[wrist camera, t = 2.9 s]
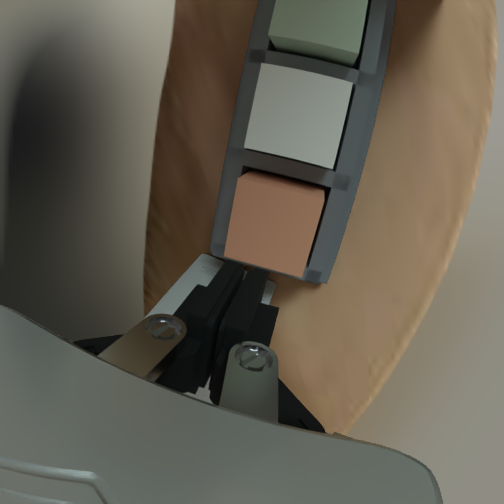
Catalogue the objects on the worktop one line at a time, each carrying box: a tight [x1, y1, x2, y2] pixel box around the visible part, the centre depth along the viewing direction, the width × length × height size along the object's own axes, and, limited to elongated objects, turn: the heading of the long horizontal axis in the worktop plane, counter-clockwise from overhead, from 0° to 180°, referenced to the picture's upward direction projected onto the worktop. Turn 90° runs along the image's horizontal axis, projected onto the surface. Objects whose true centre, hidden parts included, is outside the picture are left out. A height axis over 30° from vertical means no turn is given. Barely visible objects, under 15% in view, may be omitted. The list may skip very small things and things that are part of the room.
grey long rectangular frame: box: [209, 0, 396, 284], centre depth 19 cm, size 24×10×4 cm, turn 168°
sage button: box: [268, 0, 368, 68], centre depth 14 cm, size 5×5×4 cm
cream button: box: [244, 63, 353, 169], centre depth 17 cm, size 5×5×4 cm
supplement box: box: [144, 253, 276, 404], centre depth 23 cm, size 7×7×13 cm
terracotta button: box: [224, 170, 324, 278], centre depth 20 cm, size 5×5×4 cm
